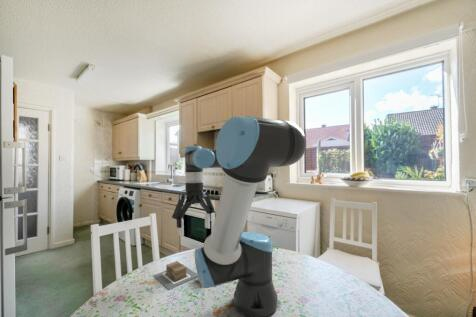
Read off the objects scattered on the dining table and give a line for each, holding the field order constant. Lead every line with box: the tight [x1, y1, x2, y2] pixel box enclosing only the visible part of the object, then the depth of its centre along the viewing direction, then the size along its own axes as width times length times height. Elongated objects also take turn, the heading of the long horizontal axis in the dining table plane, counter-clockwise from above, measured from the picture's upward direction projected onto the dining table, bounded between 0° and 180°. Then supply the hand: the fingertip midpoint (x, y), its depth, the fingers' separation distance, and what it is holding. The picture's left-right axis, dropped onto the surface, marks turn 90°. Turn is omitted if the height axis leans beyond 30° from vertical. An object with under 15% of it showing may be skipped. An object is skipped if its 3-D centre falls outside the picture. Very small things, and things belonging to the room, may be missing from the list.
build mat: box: [152, 263, 198, 291], centre depth 92 cm, size 14×14×1 cm
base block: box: [165, 260, 187, 281], centre depth 92 cm, size 8×5×4 cm, turn 45°
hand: (195, 231), depth 93 cm, fingers open, 13 cm apart
